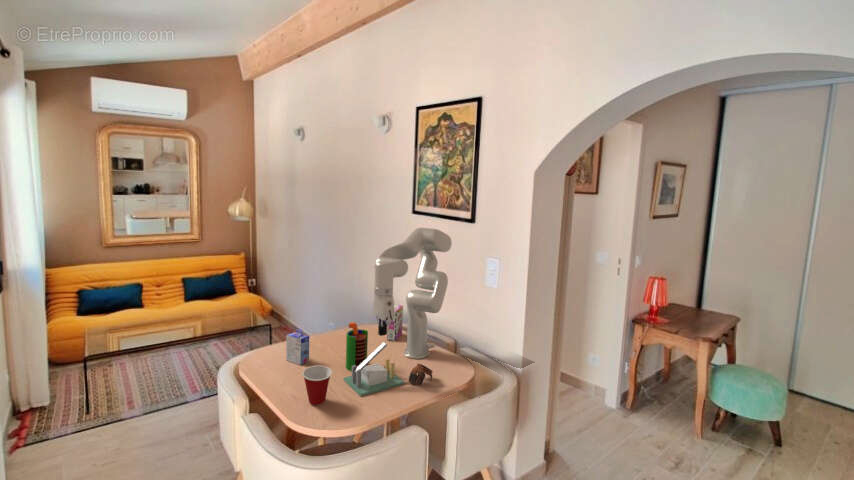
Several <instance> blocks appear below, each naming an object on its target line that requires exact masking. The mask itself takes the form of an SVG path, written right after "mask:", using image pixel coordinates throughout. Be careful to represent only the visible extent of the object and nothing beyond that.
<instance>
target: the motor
mask: <svg viewBox="0 0 854 480" xmlns="http://www.w3.org/2000/svg"><path fill="white" fill-rule="evenodd" d="M348 329H351V330H349V331H347V332H346V337H345V338H346V340H345V341H346V343H345V344H346V347H345V348H346V349H345V351H346V352H345V368H346V370H347V371H349V372H352V366H353V365H356V366H357V367H358V366H359V365H360V364H361V363H362V362H363V361H364V360H365V359H366V358H367V357H368V343H369V342H368V339H369V336H368V335H369V332H368V330H366V329H362V328H361V329H359V328H358V324H357V323H356V322H353V321H352V322H351V321H350V322H349V323H348ZM357 367H356V368H357Z"/></svg>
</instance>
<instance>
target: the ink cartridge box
mask: <svg viewBox="0 0 854 480" xmlns="http://www.w3.org/2000/svg"><path fill="white" fill-rule="evenodd" d="M303 331H304V329H301V328H297V330H295V331H294V332H291V333H288V334H286V335H285V337H286V338H285V339H286V340H285V341H286V342H285V343H286V345H285V347H286V349H285V350H286V353H285V354H286V356H285V357H286V358H285V360H286V361H288V362H291V363H294V364H297V365H300V366H301V365H304V364H307V363H310V335H307V334H303Z"/></svg>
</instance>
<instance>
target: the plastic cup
mask: <svg viewBox="0 0 854 480" xmlns="http://www.w3.org/2000/svg"><path fill="white" fill-rule="evenodd" d="M301 375H302V377H303V380H304V383H305V389H306V395H307V398H308V403H309V404H311V405H312V406H318V405H319V406H320V405H323V404H325V402H326V398H327V397H326V396H327V393H328V387H329V384H330V383H329V381H330V379H331V376H332V375H333V370H332V369H331V368H330V367H328V366H325V365H312V366H308V367H306V368H304V369H303V371H302V374H301Z"/></svg>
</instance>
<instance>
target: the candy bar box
mask: <svg viewBox="0 0 854 480" xmlns="http://www.w3.org/2000/svg"><path fill="white" fill-rule="evenodd" d="M403 315H404V305H399V304H394V319H393V320H392V319H390V321H391V324H388V326H387V335H386V340H387V341H392V342H396V341H397V340H398V339H399V338H400V337H401V336H402V335H403V319H404V318H403V317H404V316H403Z"/></svg>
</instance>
